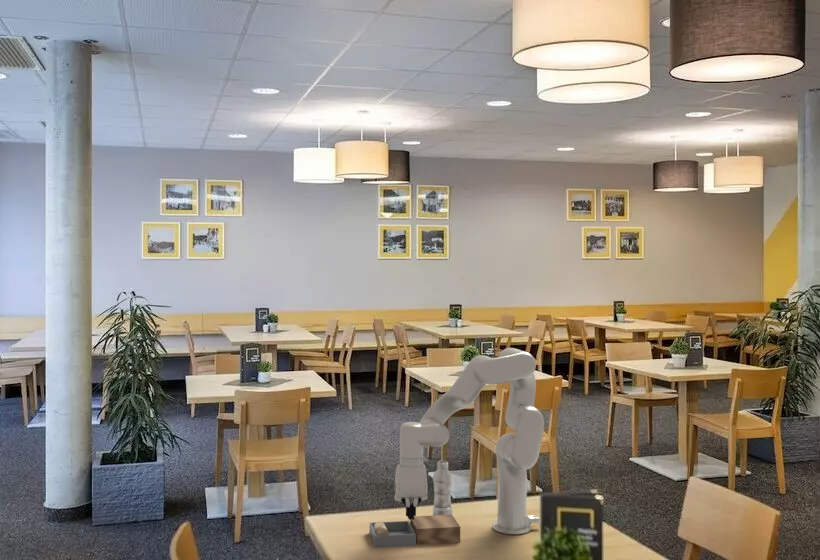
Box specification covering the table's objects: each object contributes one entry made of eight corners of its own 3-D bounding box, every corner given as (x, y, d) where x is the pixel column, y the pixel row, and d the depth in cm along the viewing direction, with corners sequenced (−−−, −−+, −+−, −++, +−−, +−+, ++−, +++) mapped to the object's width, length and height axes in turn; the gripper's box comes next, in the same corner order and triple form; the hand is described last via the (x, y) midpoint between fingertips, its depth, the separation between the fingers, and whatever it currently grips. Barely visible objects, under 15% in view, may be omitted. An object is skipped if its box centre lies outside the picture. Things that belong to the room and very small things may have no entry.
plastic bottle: (450, 523, 277) (451, 465, 276) (430, 522, 278) (431, 463, 277) (453, 517, 283) (454, 460, 282) (434, 516, 285) (434, 459, 284)
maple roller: (374, 521, 264) (372, 533, 264) (377, 529, 256) (375, 542, 256) (386, 522, 265) (384, 534, 265) (390, 530, 257) (388, 543, 257)
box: (408, 531, 269) (408, 520, 269) (415, 545, 256) (416, 534, 256) (369, 533, 267) (369, 522, 267) (374, 547, 254) (374, 536, 254)
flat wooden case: (451, 529, 271) (451, 514, 271) (460, 542, 259) (460, 526, 259) (410, 531, 269) (410, 516, 268) (416, 544, 257) (416, 528, 257)
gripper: (432, 457, 267) (431, 513, 267) (386, 459, 264) (386, 515, 265) (436, 463, 259) (436, 521, 260) (390, 465, 257) (389, 523, 257)
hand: (410, 518), depth 262 cm, fingers closed
